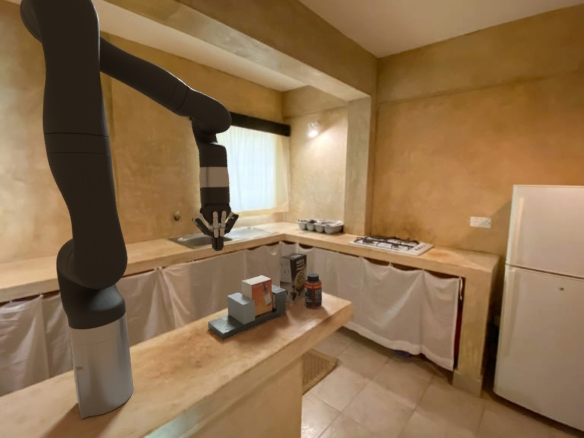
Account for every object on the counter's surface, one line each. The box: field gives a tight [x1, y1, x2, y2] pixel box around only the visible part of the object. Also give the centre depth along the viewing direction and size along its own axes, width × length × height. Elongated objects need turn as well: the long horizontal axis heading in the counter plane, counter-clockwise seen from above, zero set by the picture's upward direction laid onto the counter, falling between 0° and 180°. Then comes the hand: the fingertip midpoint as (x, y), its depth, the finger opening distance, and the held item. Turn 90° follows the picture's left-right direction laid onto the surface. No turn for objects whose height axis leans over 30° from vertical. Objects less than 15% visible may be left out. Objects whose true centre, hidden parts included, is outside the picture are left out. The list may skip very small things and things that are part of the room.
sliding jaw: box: [226, 292, 255, 324], centre depth 86 cm, size 4×9×6 cm, turn 43°
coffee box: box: [279, 252, 308, 304], centre depth 104 cm, size 9×6×16 cm
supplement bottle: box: [304, 272, 323, 310], centre depth 97 cm, size 6×6×11 cm
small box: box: [241, 274, 273, 316], centre depth 89 cm, size 8×6×10 cm
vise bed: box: [207, 284, 287, 341], centre depth 88 cm, size 23×9×8 cm, turn 133°
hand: (217, 250), depth 75 cm, fingers closed
